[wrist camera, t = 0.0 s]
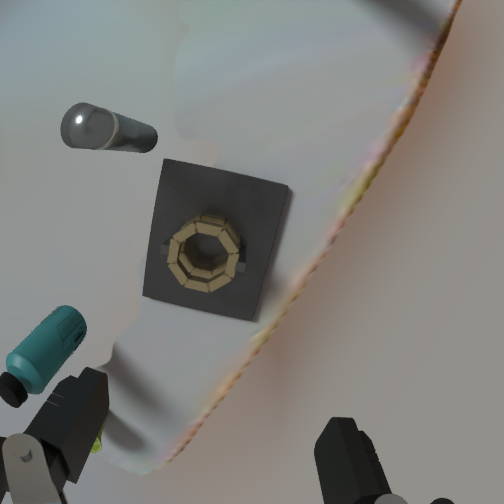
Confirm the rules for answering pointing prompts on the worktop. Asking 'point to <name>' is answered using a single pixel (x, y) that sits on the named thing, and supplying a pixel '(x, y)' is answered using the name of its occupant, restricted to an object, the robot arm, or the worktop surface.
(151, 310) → the worktop surface
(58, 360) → the beverage bottle
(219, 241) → the dark square plate
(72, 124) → the glossy dome-topped cylinder
